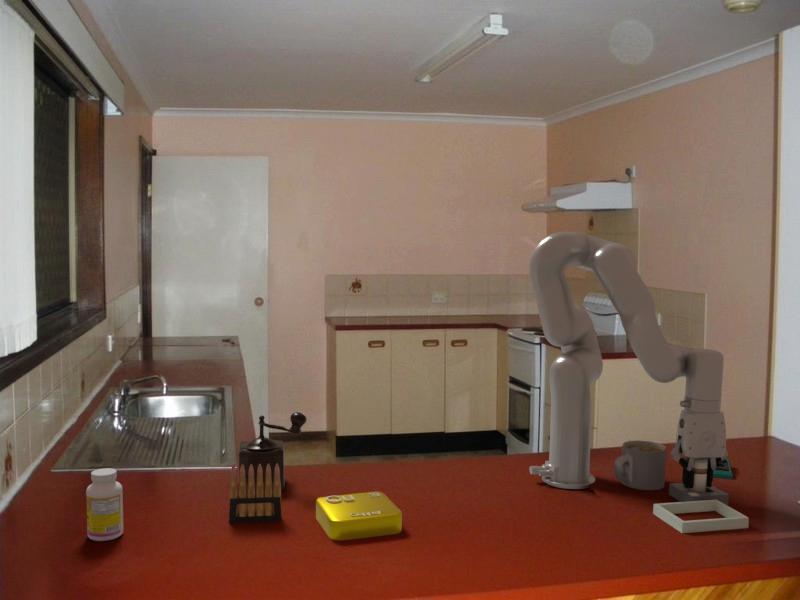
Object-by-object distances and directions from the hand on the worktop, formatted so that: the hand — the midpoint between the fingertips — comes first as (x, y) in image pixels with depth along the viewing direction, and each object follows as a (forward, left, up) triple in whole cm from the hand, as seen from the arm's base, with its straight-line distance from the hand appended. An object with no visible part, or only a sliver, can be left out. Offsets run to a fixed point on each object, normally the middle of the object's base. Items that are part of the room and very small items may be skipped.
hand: (697, 485), depth 182 cm
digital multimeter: (+18, +20, -5) cm, 27 cm away
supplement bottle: (-126, +5, -5) cm, 126 cm away
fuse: (0, 0, -3) cm, 3 cm away
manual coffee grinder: (-92, +30, -5) cm, 97 cm away
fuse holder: (0, 0, -4) cm, 4 cm away
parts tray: (-7, -12, -4) cm, 14 cm away
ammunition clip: (-97, +8, -5) cm, 97 cm away
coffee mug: (-8, +13, -5) cm, 16 cm away
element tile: (-76, +2, -5) cm, 76 cm away
